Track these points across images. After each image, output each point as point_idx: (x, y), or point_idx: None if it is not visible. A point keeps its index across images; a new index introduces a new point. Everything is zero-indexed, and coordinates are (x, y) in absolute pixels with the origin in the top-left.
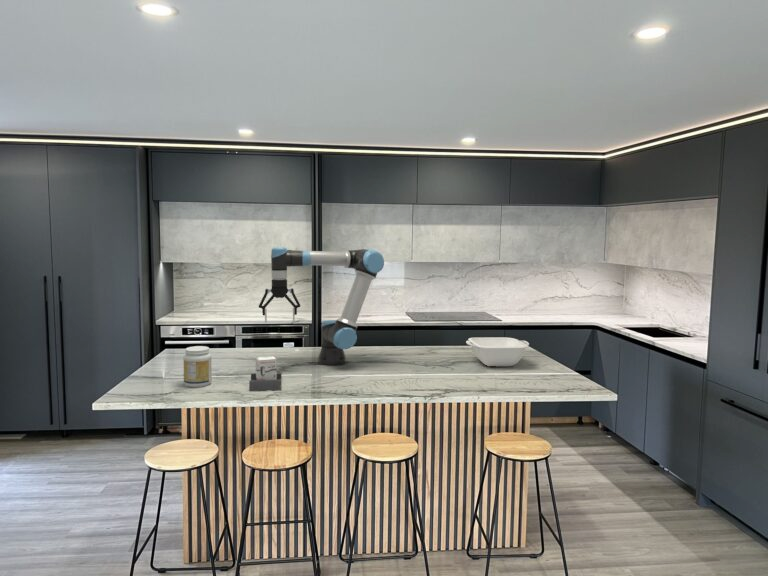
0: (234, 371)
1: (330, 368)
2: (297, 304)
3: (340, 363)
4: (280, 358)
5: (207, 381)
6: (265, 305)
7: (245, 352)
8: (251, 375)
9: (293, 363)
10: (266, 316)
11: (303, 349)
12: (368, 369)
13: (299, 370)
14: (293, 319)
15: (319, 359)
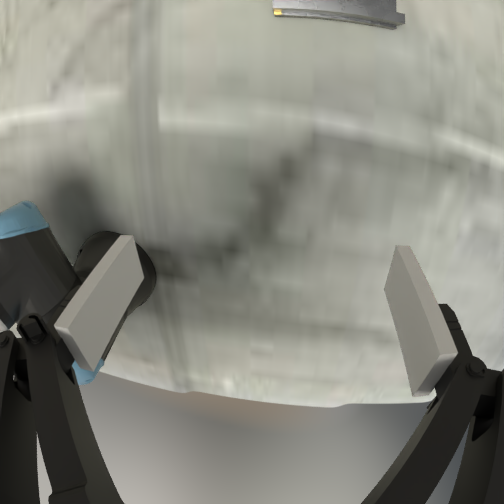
0: (436, 202)
1: (109, 195)
2: (5, 358)
3: (88, 238)
4: (273, 329)
5: None
6: (462, 402)
7: (357, 382)
8: (400, 14)
9: (231, 272)
10: (413, 285)
11: (213, 385)
12: (23, 178)
13: (206, 178)
14: (120, 247)
15: (144, 265)
